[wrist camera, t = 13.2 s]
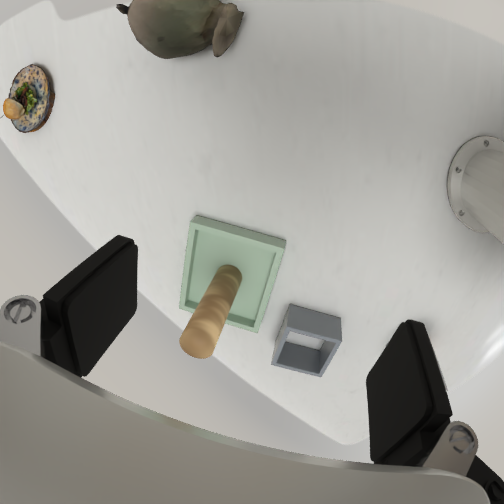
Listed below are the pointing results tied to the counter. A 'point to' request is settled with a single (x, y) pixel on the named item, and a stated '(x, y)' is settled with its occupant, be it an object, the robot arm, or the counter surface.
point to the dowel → (211, 313)
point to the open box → (314, 327)
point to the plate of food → (29, 100)
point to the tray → (239, 255)
